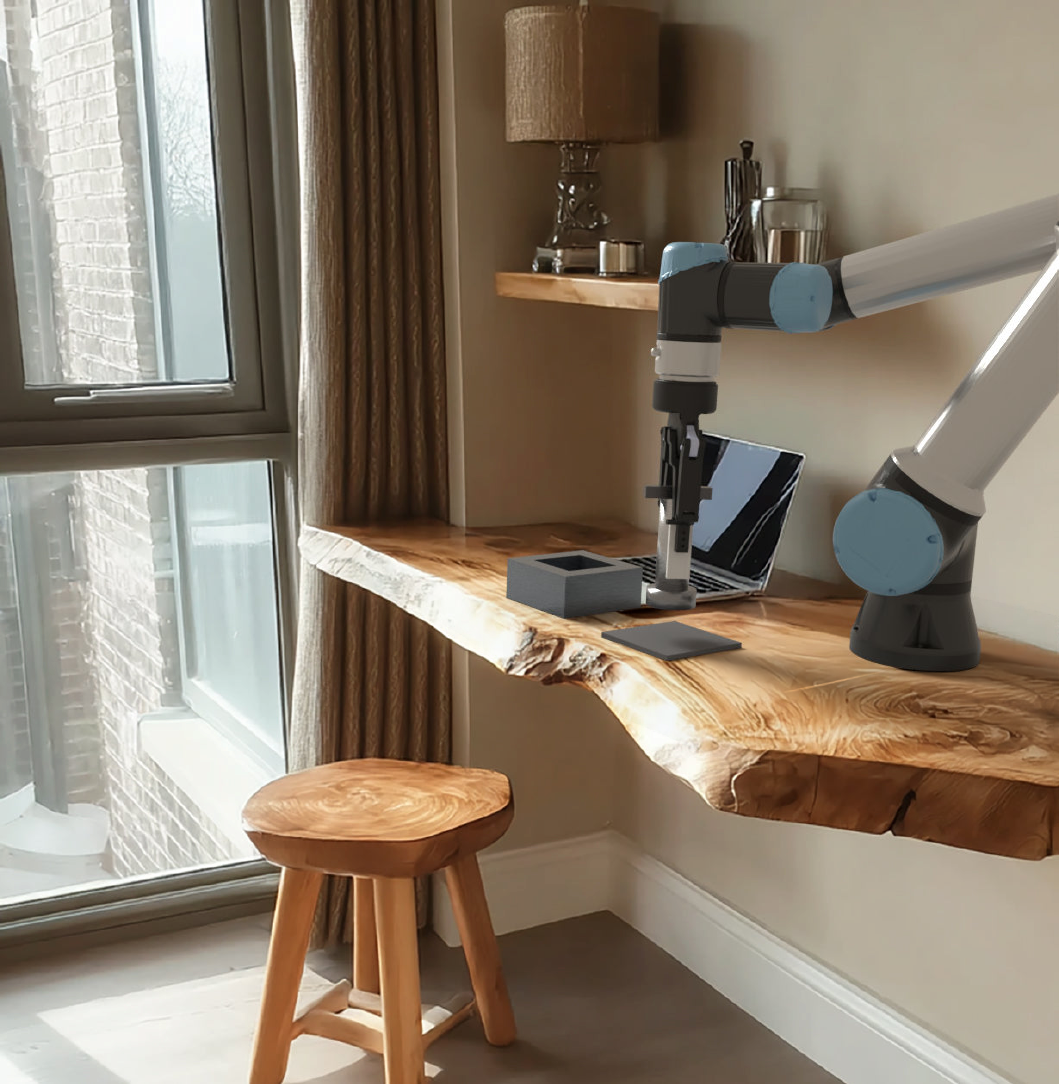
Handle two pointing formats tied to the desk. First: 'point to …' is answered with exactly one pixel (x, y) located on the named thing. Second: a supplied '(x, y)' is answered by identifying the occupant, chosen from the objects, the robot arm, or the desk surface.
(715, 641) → the mat
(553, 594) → the block
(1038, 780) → the desk surface
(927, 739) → the desk surface
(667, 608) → the chuck key
